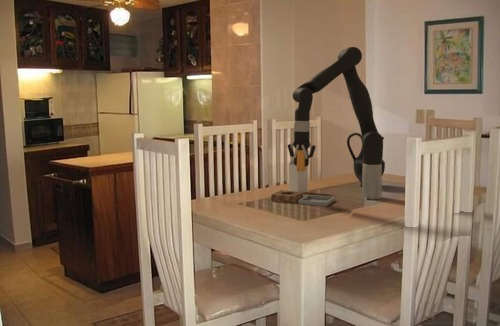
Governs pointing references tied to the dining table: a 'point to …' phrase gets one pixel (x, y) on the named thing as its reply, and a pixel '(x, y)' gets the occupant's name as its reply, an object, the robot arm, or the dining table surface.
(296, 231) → the dining table surface
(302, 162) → the plug
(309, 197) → the tray
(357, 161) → the pitcher
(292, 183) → the milk carton
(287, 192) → the socket block
